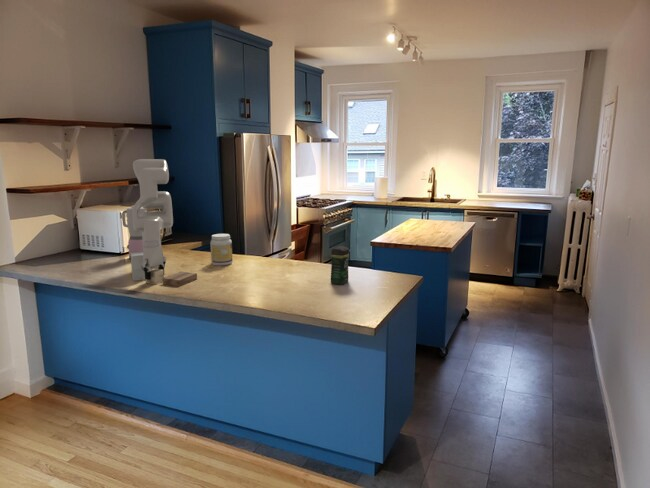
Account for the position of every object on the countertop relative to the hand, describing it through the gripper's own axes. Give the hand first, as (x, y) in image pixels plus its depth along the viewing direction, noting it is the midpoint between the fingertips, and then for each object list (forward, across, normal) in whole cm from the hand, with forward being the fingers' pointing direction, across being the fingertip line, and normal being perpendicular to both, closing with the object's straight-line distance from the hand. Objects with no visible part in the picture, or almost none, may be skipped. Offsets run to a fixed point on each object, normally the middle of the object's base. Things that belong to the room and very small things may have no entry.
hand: (154, 277), depth 239 cm
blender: (+2, -38, -46) cm, 60 cm away
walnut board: (+3, -6, +11) cm, 13 cm away
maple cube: (+3, 0, 0) cm, 3 cm away
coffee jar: (+3, -35, +86) cm, 93 cm away
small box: (+3, -2, -12) cm, 13 cm away
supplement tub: (+2, -46, +9) cm, 47 cm away
